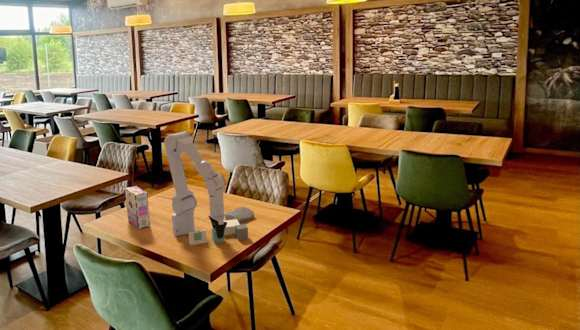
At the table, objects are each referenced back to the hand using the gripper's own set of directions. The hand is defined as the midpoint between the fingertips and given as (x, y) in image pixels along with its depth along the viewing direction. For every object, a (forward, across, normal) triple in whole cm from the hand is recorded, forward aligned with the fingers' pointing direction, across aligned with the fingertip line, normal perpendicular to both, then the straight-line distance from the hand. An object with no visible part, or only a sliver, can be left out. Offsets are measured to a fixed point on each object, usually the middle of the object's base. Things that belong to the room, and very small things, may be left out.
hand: (218, 234), depth 197 cm
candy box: (+3, +32, +30) cm, 44 cm away
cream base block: (+3, +8, -7) cm, 11 cm away
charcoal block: (+3, 0, -10) cm, 10 cm away
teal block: (+3, 0, 0) cm, 3 cm away
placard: (+3, +1, +9) cm, 9 cm away
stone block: (+3, +21, -15) cm, 26 cm away
